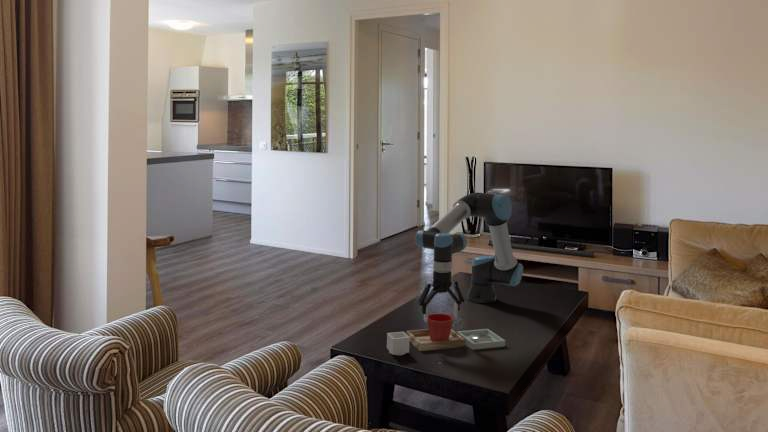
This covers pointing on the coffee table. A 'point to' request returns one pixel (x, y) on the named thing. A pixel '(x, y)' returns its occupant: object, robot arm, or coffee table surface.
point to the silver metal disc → (480, 337)
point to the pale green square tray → (494, 342)
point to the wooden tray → (425, 343)
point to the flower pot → (439, 327)
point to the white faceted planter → (398, 343)
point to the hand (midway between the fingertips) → (440, 319)
